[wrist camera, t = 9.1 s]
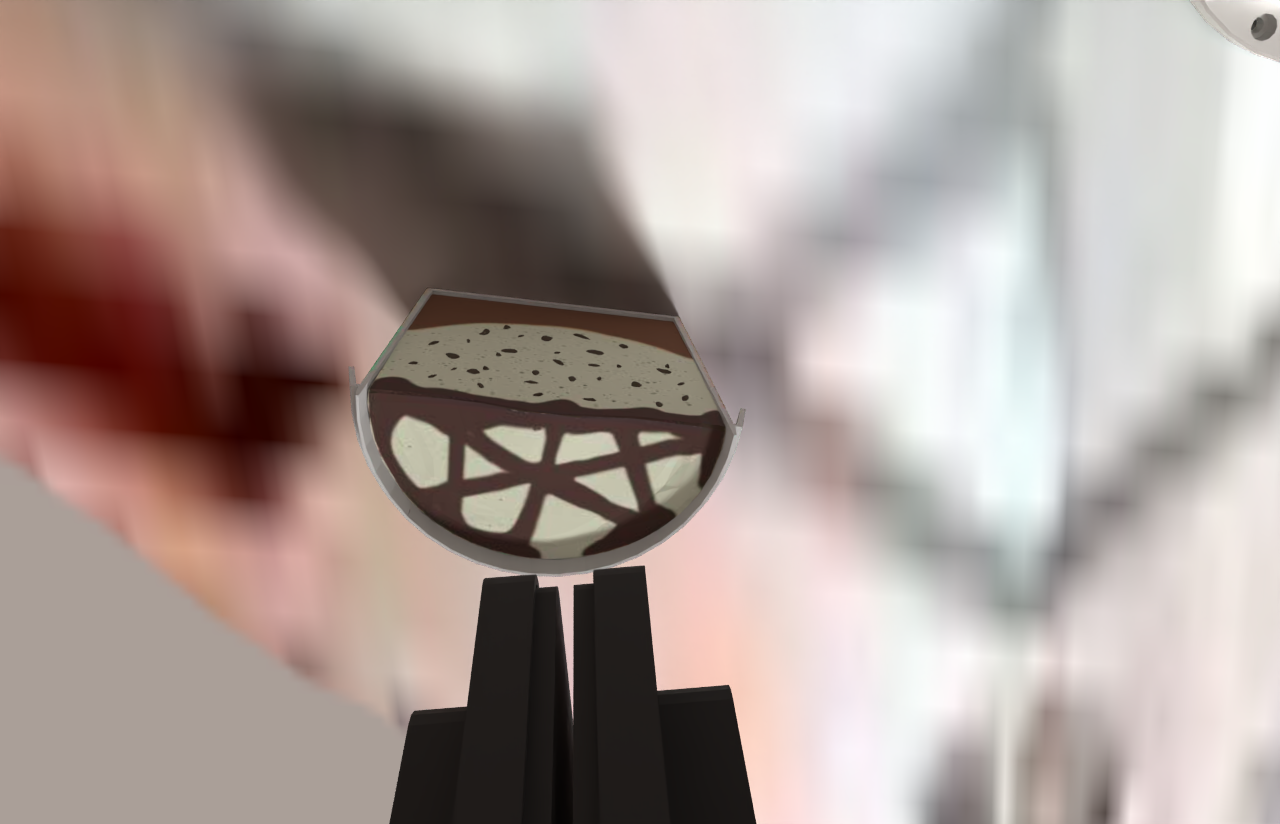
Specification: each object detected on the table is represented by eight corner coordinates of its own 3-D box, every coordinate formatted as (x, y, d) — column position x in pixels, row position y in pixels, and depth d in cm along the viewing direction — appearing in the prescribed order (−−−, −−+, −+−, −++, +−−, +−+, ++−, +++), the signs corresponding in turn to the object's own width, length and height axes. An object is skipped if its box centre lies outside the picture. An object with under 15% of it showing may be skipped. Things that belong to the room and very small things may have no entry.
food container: (377, 434, 47) (329, 573, 37) (385, 282, 44) (336, 393, 35) (692, 466, 48) (720, 608, 39) (718, 321, 45) (754, 437, 36)
